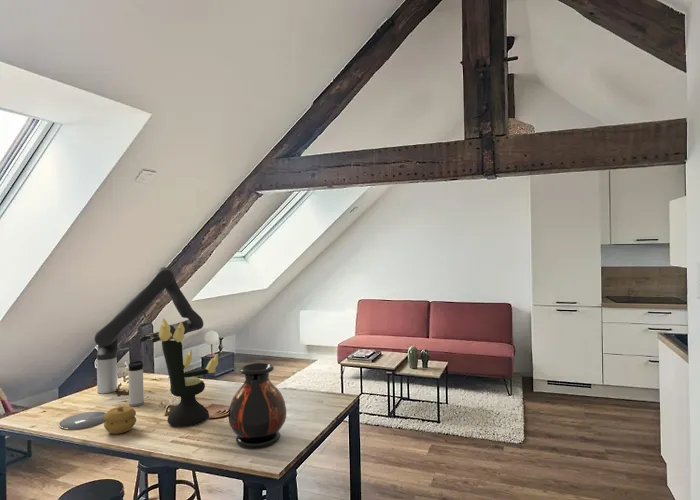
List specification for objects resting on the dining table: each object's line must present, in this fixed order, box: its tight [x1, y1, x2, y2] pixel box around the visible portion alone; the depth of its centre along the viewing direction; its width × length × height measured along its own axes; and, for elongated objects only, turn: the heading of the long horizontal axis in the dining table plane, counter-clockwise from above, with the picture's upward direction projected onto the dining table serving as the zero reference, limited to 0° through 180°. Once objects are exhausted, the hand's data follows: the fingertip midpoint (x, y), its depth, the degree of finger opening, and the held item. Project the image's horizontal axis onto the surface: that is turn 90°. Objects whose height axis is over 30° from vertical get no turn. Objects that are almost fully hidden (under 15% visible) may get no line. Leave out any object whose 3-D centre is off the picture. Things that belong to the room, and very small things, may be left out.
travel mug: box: [127, 360, 145, 407], centre depth 218 cm, size 6×7×20 cm
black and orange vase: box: [227, 362, 287, 450], centre depth 174 cm, size 22×22×28 cm
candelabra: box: [158, 318, 219, 428], centre depth 193 cm, size 19×22×45 cm
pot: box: [103, 405, 137, 435], centre depth 186 cm, size 12×12×10 cm
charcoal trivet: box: [59, 411, 107, 430], centre depth 197 cm, size 18×18×1 cm
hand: (146, 340), depth 227 cm, fingers open, 8 cm apart
